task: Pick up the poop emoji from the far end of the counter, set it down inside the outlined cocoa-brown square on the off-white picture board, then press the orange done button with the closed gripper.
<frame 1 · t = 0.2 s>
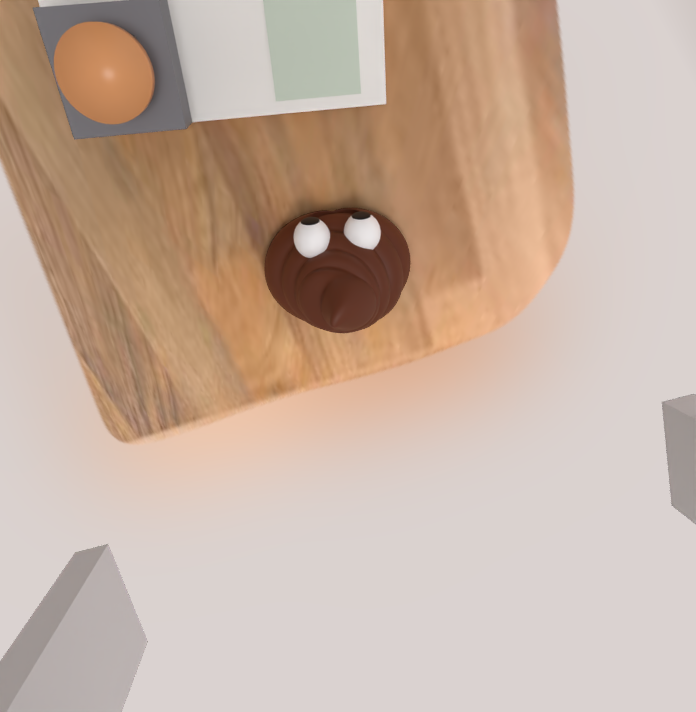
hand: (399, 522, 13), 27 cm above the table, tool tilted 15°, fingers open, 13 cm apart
done button: (112, 72, 28), point 4 cm above the table, slide at 0.0 cm
poop emoji: (335, 257, 39), on the table
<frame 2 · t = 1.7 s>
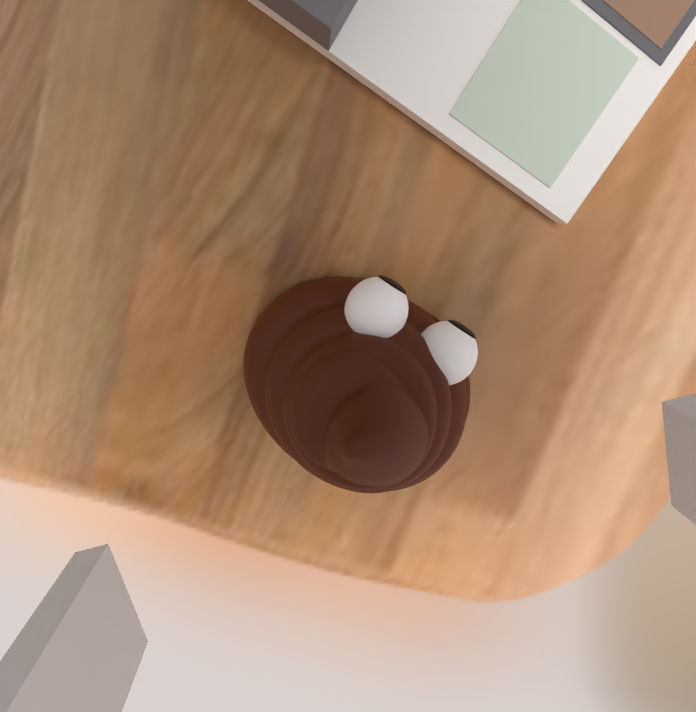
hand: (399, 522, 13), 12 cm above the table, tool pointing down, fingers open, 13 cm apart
poop emoji: (357, 368, 25), on the table
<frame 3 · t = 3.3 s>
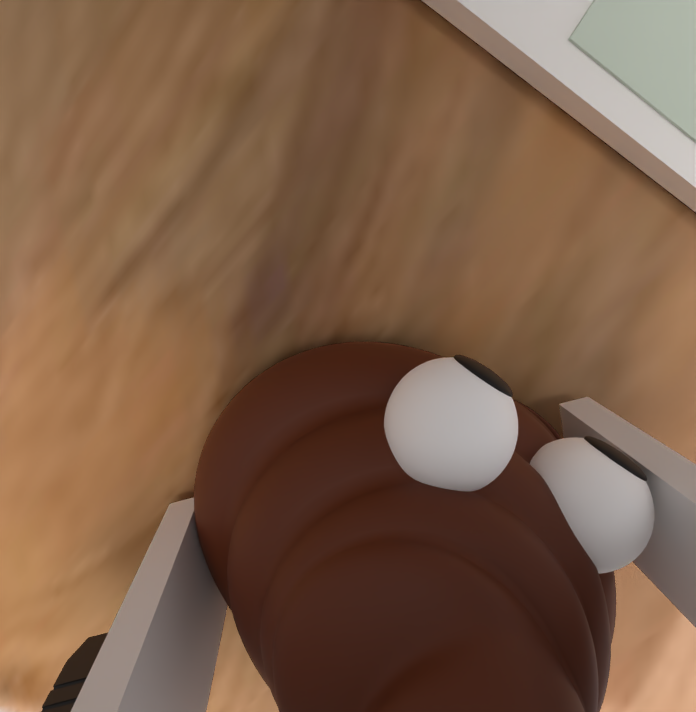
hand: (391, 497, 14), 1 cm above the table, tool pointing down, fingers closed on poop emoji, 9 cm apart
poop emoji: (392, 486, 15), on the table, touching gripper
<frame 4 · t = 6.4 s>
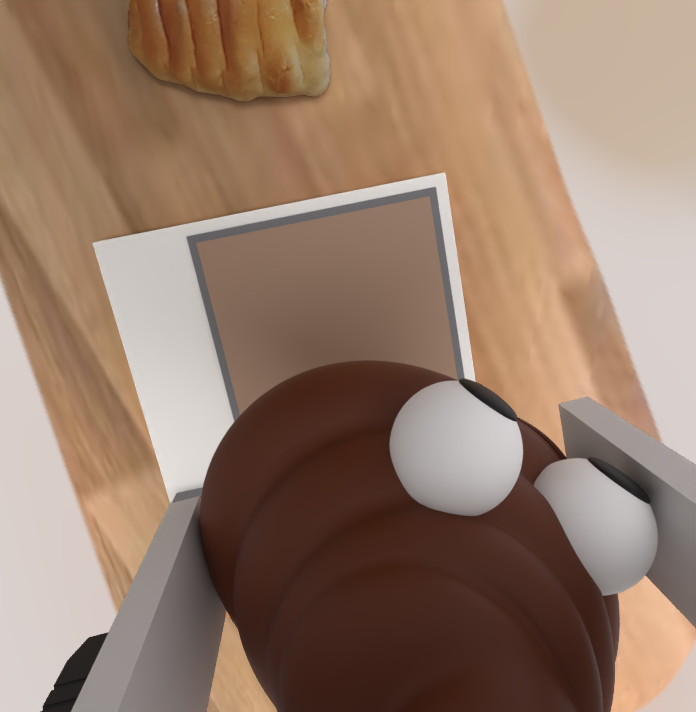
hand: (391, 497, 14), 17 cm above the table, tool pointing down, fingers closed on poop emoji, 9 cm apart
pastry: (249, 39, 27), on the table
picture board: (311, 389, 31), on the table
done button: (235, 558, 28), point 4 cm above the table, slide at 0.0 cm
poop emoji: (396, 501, 15), point 16 cm above the table, touching gripper
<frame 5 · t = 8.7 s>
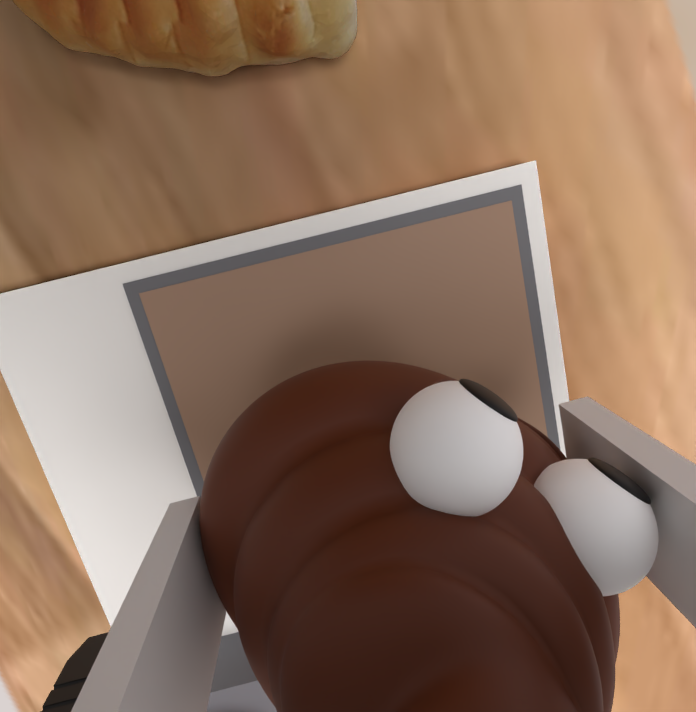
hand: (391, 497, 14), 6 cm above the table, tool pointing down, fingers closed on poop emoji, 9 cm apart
picture board: (331, 495, 20), on the table
poop emoji: (396, 502, 15), point 5 cm above the table, touching gripper
when the fingers open (3 cm above the table, at t = 10.0 s): poop emoji drops 1 cm, resting on picture board.
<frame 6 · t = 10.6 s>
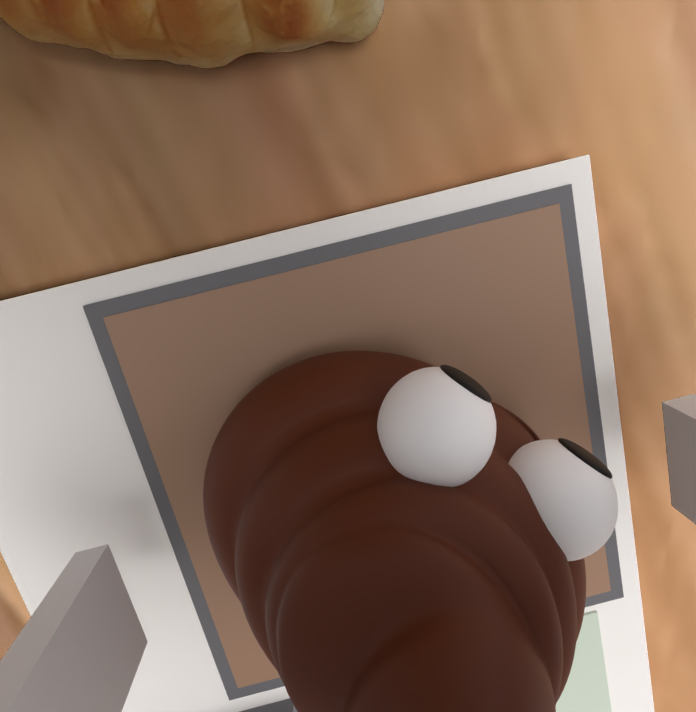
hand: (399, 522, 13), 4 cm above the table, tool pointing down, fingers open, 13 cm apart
picture board: (337, 552, 17), on the table
poop emoji: (386, 484, 16), point 1 cm above the table, touching picture board
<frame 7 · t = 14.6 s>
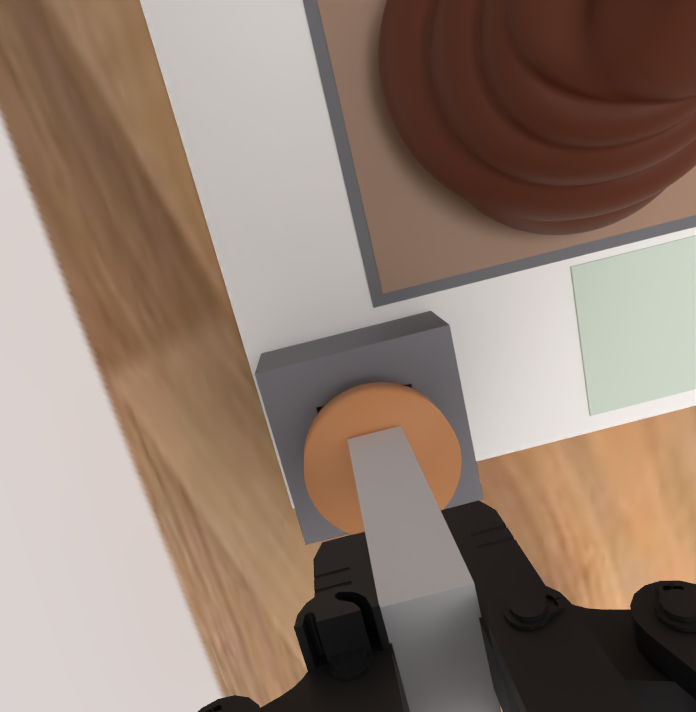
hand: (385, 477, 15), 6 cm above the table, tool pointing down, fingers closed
picture board: (472, 176, 19), on the table
done button: (375, 443, 17), point 4 cm above the table, slide at 0.1 cm, touching gripper
poop emoji: (526, 84, 17), point 1 cm above the table, touching picture board
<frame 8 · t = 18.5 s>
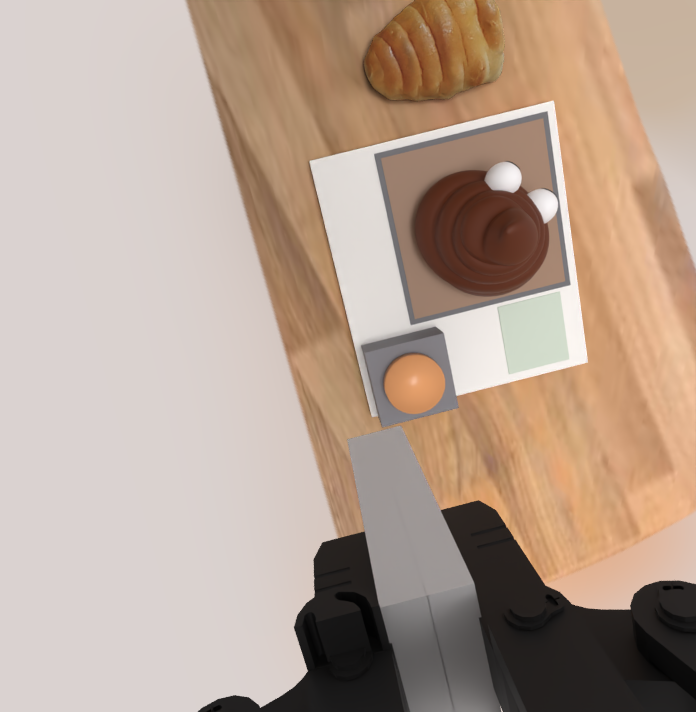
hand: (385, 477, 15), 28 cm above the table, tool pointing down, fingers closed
pastry: (436, 55, 39), on the table
picture board: (454, 267, 42), on the table
done button: (411, 378, 41), point 3 cm above the table, slide at 1.0 cm
poop emoji: (475, 232, 41), point 1 cm above the table, touching picture board
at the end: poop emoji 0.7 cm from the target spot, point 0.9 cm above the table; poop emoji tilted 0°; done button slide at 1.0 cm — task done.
